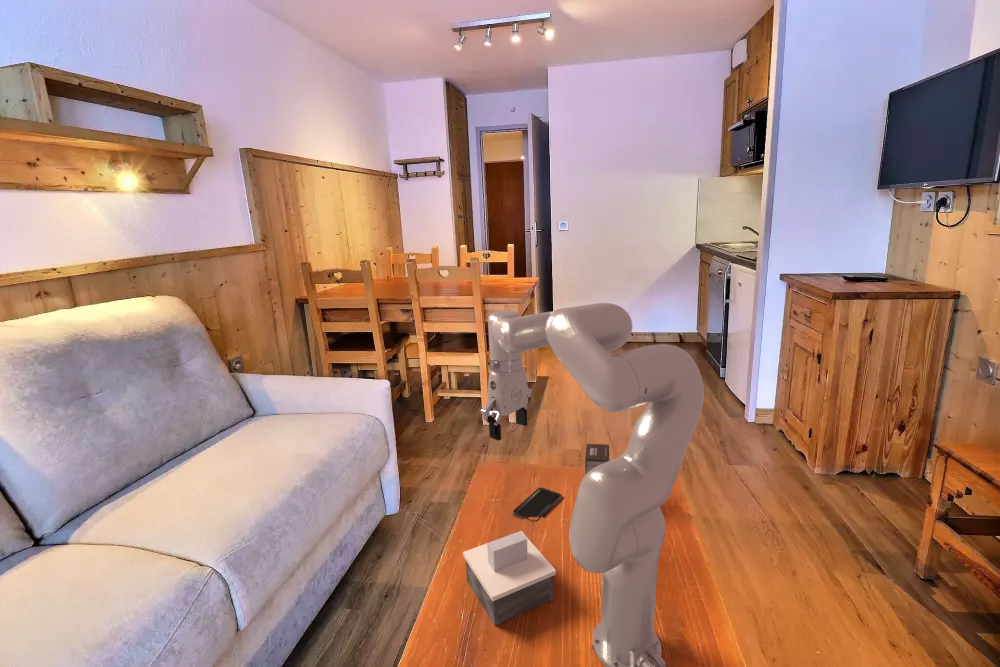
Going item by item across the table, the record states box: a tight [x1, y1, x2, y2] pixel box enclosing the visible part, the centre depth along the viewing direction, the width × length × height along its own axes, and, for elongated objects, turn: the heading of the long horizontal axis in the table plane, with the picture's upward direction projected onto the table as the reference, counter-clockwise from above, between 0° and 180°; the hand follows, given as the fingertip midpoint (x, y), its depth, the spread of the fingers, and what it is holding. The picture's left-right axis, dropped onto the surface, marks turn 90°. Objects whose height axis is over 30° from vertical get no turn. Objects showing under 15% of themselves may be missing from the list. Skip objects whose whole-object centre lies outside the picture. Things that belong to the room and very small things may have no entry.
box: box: [465, 560, 555, 626], centre depth 107 cm, size 14×14×7 cm
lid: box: [462, 530, 557, 601], centre depth 105 cm, size 15×15×6 cm
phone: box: [512, 487, 563, 523], centre depth 138 cm, size 8×1×15 cm
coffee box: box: [584, 443, 610, 476], centre depth 136 cm, size 9×6×16 cm
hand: (508, 431), depth 119 cm, fingers open, 9 cm apart
